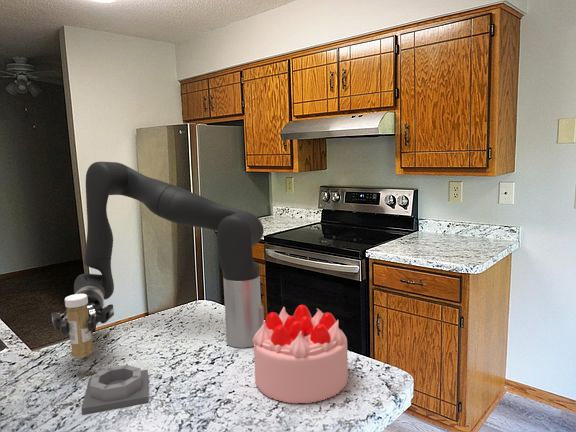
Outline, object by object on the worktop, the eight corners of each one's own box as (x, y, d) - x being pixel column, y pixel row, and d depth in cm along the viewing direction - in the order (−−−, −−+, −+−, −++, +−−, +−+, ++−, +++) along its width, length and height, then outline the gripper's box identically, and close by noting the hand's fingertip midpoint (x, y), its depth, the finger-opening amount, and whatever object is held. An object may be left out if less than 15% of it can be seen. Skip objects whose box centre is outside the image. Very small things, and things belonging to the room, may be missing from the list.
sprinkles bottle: (95, 354, 100) (88, 296, 98) (73, 360, 97) (65, 301, 95) (91, 347, 104) (85, 291, 102) (70, 353, 101) (63, 295, 99)
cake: (362, 396, 89) (362, 327, 87) (263, 413, 84) (260, 340, 82) (329, 354, 107) (328, 296, 105) (246, 365, 103) (244, 306, 101)
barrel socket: (147, 374, 100) (146, 359, 99) (148, 402, 88) (146, 385, 88) (89, 384, 96) (87, 368, 96) (81, 414, 85) (80, 396, 84)
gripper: (54, 293, 110) (38, 316, 94) (115, 286, 115) (111, 307, 98) (57, 322, 111) (42, 350, 95) (118, 314, 116) (114, 339, 99)
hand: (77, 328), depth 97 cm, fingers closed on sprinkles bottle, 4 cm apart
